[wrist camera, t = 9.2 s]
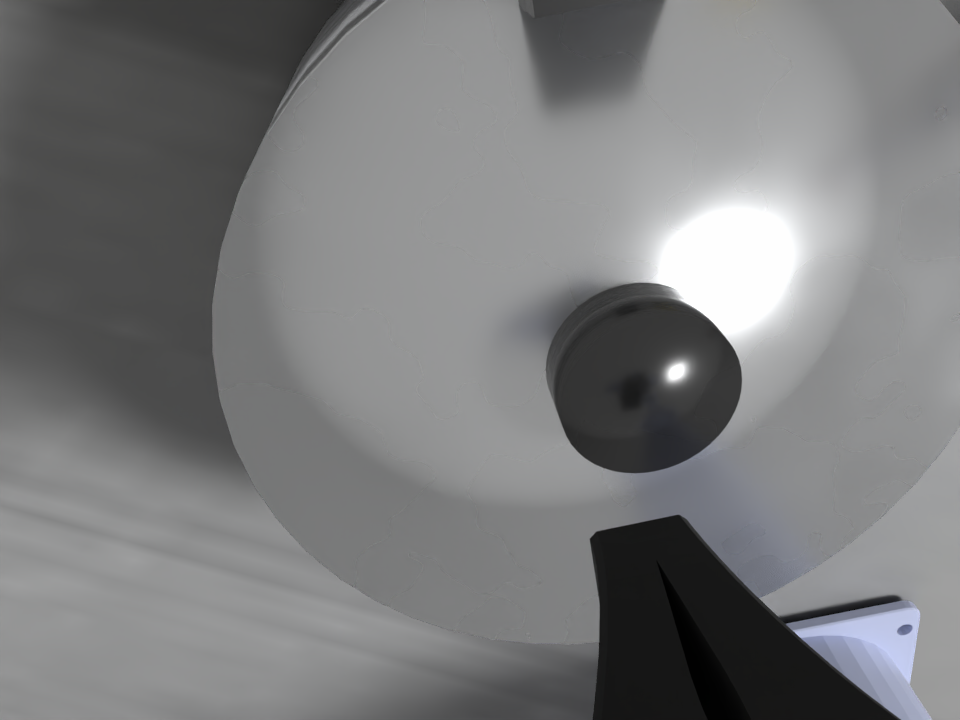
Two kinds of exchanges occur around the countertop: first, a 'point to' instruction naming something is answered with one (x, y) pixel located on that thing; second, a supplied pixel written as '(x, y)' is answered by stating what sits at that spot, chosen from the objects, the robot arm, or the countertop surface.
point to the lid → (595, 292)
